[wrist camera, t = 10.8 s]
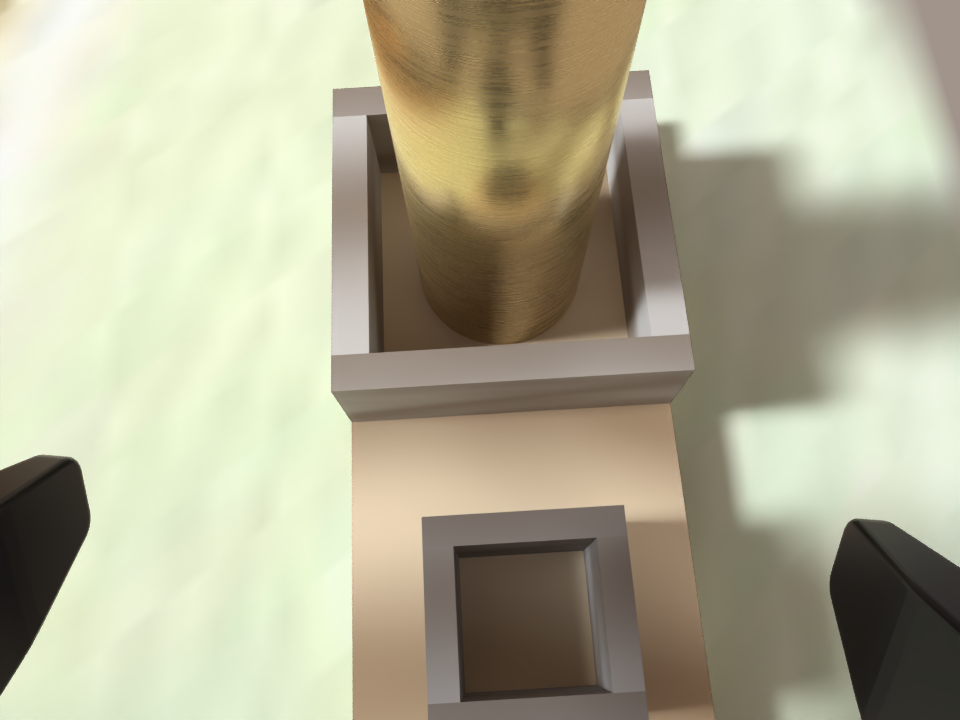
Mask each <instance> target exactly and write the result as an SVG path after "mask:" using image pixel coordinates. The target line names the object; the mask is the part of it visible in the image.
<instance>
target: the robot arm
mask: <svg viewBox="0 0 960 720" xmlns="http://www.w3.org/2000/svg"><path fill="white" fill-rule="evenodd" d="M89 527H90V509H89V504H88V500H87V495H86V490H85V485H84V480H83V476H82V471H81V468H80V465H79V463H78V462H77V461H76V460H75V459H73V458H72V457H64V456H52V455H38V456H35V457H32V458H30V459H27V460H25V461H22V462H20V463H17V464H15V465H12V466H10V467H7V468H5V469H2V470H0V696H1V694H2V692H3V691H4V689H5V688H6V686H7V684H8V683H9V681H10V680H11V678H12V677H13V675H14V673H15V672H16V670H17V669H18V667H19V665H20V664H21V662H22V660H23V659H24V657H25V655H26V654H27V652H28V650H29V649H30V647H31V645H32V644H33V642H34V640H35V638H36V636H37V634H38V632H39V631H40V629H41V627H42V625H43V623H44V621H45V619H46V617H47V615H48V613H49V611H50V609H51V607H52V605H53V603H54V601H55V599H56V597H57V595H58V593H59V591H60V589H61V587H62V584H63V582H64V580H65V578H66V576H67V574H68V572H69V570H70V568H71V566H72V564H73V562H74V560H75V558H76V556H77V554H78V552H79V550H80V548H81V546H82V544H83V542H84V540H85V538H86V536H87V533H88V530H89ZM830 595H831V600H832V604H833V608H834V612H835V616H836V620H837V624H838V628H839V632H840V636H841V640H842V644H843V649H844V653H845V657H846V661H847V665H848V669H849V673H850V677H851V681H852V685H853V689H854V693H855V697H856V701H857V704H858V708H859V712H860V715H861V719H862V720H960V567H958V566H957V565H955V564H954V563H952V562H950V561H949V560H947V559H946V558H944V557H943V556H941V555H940V554H938V553H937V552H935V551H934V550H932V549H931V548H929V547H927V546H926V545H924V544H923V543H921V542H920V541H918V540H917V539H915V538H914V537H912V536H911V535H909V534H908V533H906V532H905V531H903V530H901V529H900V528H898V527H897V526H895V525H894V524H892V523H890V522H887V521H882V520H868V519H853V520H851V521H850V522H848V524H847V525H846V527H845V529H844V532H843V535H842V538H841V542H840V545H839V548H838V552H837V555H836V558H835V562H834V565H833V568H832V571H831V575H830Z"/></svg>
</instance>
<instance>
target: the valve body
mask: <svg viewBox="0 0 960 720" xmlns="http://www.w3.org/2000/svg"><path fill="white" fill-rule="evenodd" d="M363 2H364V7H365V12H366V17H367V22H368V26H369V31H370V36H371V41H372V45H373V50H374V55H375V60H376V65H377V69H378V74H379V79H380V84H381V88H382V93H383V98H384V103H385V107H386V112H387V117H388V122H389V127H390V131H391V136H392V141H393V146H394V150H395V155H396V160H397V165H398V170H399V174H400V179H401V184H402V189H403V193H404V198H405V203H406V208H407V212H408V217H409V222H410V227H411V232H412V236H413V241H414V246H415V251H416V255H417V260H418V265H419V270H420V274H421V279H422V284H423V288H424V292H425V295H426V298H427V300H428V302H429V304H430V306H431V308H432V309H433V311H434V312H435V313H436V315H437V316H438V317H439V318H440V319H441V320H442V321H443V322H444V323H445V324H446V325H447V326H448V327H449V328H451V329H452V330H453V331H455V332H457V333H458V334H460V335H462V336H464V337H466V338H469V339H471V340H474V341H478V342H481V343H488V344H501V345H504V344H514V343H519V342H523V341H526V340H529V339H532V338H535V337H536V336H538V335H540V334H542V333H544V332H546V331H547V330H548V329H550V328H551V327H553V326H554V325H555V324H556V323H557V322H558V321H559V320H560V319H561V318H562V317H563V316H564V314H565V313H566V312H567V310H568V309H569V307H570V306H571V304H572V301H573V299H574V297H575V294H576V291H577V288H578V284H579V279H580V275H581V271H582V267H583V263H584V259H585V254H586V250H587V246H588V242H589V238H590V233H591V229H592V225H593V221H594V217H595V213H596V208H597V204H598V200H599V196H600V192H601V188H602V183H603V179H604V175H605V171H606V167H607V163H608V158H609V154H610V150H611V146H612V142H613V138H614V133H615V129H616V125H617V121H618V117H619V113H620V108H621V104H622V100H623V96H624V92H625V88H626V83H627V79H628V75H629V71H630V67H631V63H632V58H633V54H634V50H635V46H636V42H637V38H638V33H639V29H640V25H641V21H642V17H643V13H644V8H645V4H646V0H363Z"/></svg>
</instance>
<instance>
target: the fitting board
mask: <svg viewBox="0 0 960 720" xmlns="http://www.w3.org/2000/svg"><path fill="white" fill-rule="evenodd" d="M694 371H695V366H694V360H693V353H692V347H691V340H690V334H689V327H688V321H687V314H686V308H685V301H684V295H683V288H682V282H681V275H680V269H679V263H678V256H677V250H676V243H675V237H674V230H673V224H672V217H671V211H670V204H669V198H668V191H667V185H666V178H665V172H664V166H663V159H662V153H661V146H660V140H659V133H658V127H657V120H656V114H655V107H654V101H653V94H652V88H651V81H650V75H649V70H646V71H629V75H628V79H627V83H626V88H625V92H624V96H623V100H622V104H621V108H620V113H619V117H618V121H617V125H616V129H615V133H614V138H613V142H612V146H611V150H610V154H609V158H608V163H607V167H606V171H605V175H604V179H603V183H602V188H601V192H600V196H599V200H598V204H597V208H596V213H595V217H594V221H593V225H592V229H591V233H590V238H589V242H588V246H587V250H586V254H585V259H584V263H583V267H582V271H581V275H580V279H579V284H578V288H577V291H576V294H575V297H574V299H573V301H572V304H571V306H570V307H569V309H568V310H567V312H566V313H565V314H564V316H563V317H562V318H561V319H560V320H559V321H558V322H557V323H556V324H555V325H554V326H553V327H551V328H550V329H548V330H547V331H546V332H544V333H542V334H540V335H538V336H536V337H535V338H532V339H529V340H526V341H523V342H519V343H514V344H504V345H501V344H488V343H481V342H478V341H474V340H471V339H469V338H466V337H464V336H462V335H460V334H458V333H457V332H455V331H453V330H452V329H451V328H449V327H448V326H447V325H446V324H445V323H444V322H443V321H442V320H441V319H440V318H439V317H438V316H437V315H436V313H435V312H434V311H433V309H432V308H431V306H430V304H429V302H428V300H427V298H426V295H425V292H424V288H423V284H422V279H421V274H420V270H419V265H418V260H417V255H416V251H415V246H414V241H413V236H412V232H411V227H410V222H409V217H408V212H407V208H406V203H405V198H404V193H403V189H402V184H401V179H400V174H399V170H398V165H397V160H396V155H395V150H394V146H393V141H392V136H391V131H390V127H389V122H388V117H387V112H386V107H385V103H384V98H383V93H382V88H381V86H378V87H361V88H344V89H333V158H332V331H331V392H332V394H333V395H334V397H335V398H336V399H337V401H338V402H339V404H340V405H341V407H342V408H343V410H344V411H345V413H346V414H347V416H348V417H349V419H350V420H351V422H352V639H353V720H715V717H714V709H713V702H712V695H711V688H710V681H709V674H708V667H707V660H706V653H705V646H704V639H703V632H702V625H701V618H700V611H699V603H698V596H697V589H696V582H695V575H694V568H693V561H692V554H691V547H690V540H689V533H688V526H687V519H686V512H685V505H684V497H683V490H682V483H681V476H680V469H679V462H678V455H677V448H676V441H675V434H674V427H673V420H672V413H671V406H670V403H671V401H672V400H673V399H674V397H675V396H676V395H677V393H678V392H679V391H680V389H681V388H682V387H683V385H684V384H685V383H686V381H687V380H688V379H689V377H690V376H691V375H692V373H693V372H694Z"/></svg>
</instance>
